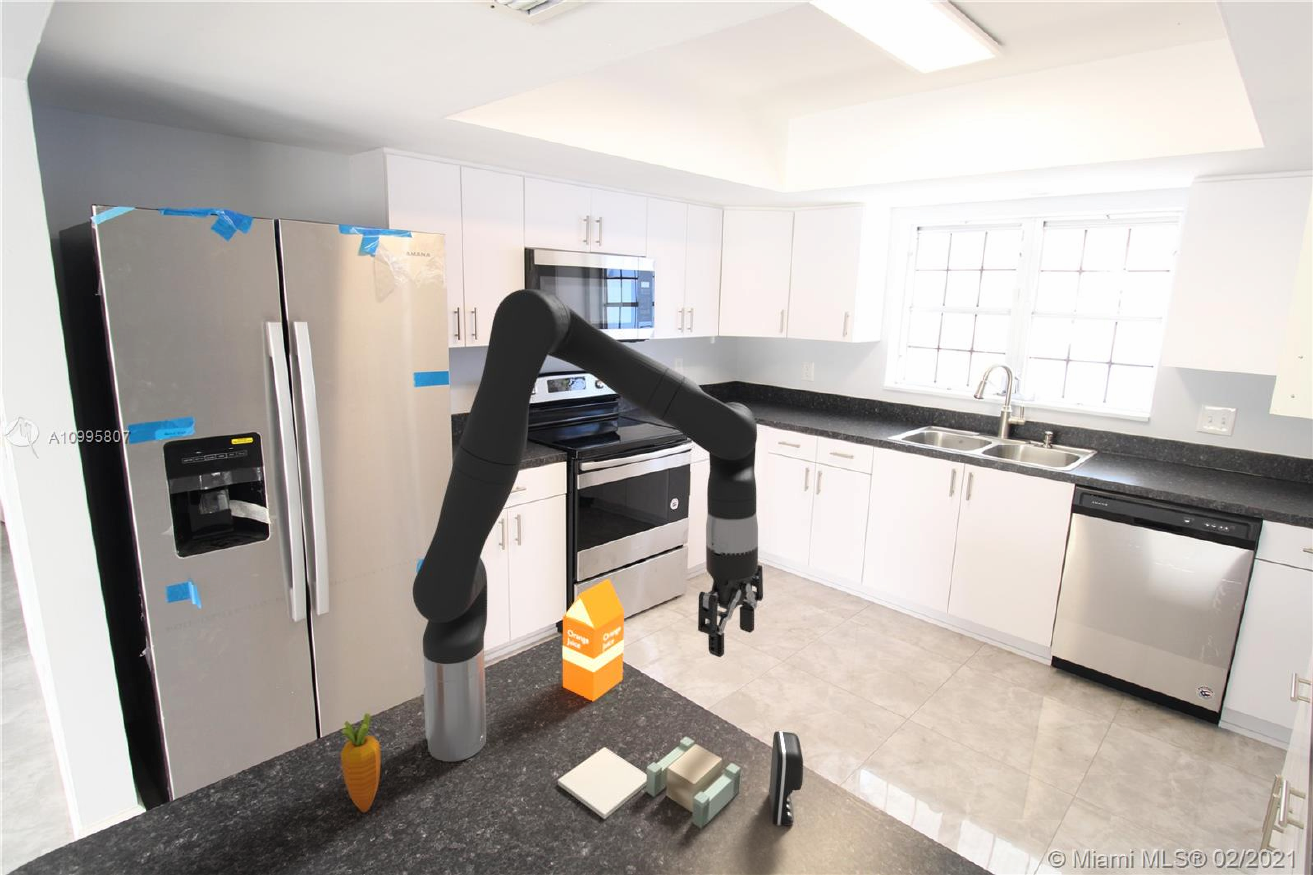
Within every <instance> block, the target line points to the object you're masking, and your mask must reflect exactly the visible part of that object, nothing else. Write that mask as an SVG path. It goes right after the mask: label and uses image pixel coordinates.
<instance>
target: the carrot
mask: <svg viewBox="0 0 1313 875" xmlns="http://www.w3.org/2000/svg"><path fill="white" fill-rule="evenodd" d="M370 721H371V714H370V713H364V717H363V720H362V724H361V726H360V727H359V728H358V727H356V728H355V729H354V728H353V726H352V725H351V723H350V722H349V721H345V722H344V726H345V727H346V728H343V729H341V734H342V735H344V736H345V737H346V738H347V739H348V741H347V742H346V743H345V744H344V746H343V747H342V750H341V754H340V759H341V767H342V768H341V769H342V774H343V781H344V783H345V787H346V790H347V792H348V794H349V798H350V799H351V800H352V802H353V803H354V805H355V806H356V807H357V808H358V809H359V810H360V811H361V813H366V812H368V811H369V810H370V808H371V806H372V804H373V802H374V799H375V797H376V795H377V791H378V788H379V781H380V775H381V745H380V742H379V740H377V739H376V738H375V737H374V736H373V735H369V734H368V730H369V728H370ZM367 734H368V735H367Z"/></svg>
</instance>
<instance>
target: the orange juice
mask: <svg viewBox="0 0 1313 875" xmlns="http://www.w3.org/2000/svg"><path fill="white" fill-rule="evenodd" d="M624 622H625V610H624V608H623V606H622V604H621V601H620V600H619V598H618V595H617V593H616V591H615V589H614V586H613V585H612V581H611V580H610V578H608V579H607V578H606V579H605V580H603V581H601V582H599V583H598V584H596V585H594V586H593V587H590V588H588V589H586V590H585V591H583V592H581V593H579V594H578V596H577V598H576V599H575V600H574V602H573V603H572V604H571V606H570V607H569V609H568V610H566V613H565V614H564V615H563V616H562V687H563V688H565V689H566V690H568V691H571V692H573V693H575V694H577V695H579V696H582V697H583V696H584V697H583V698H585V699H587V700H589V701H591V700H592V702H594V701H596V700H597V699H598V698H600V697H601V696H603V695H604V694H605V693H607V692H608V691H610V689H612V688H614V687H615V686H616V685H617V684H619V683H620V682H621V681H623V676H624V674H623V671H624V670H623V666H624V665H623V664H624V644H625V643H624V629H625V625H624V624H625V623H624Z"/></svg>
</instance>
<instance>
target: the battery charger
mask: <svg viewBox="0 0 1313 875" xmlns="http://www.w3.org/2000/svg"><path fill="white" fill-rule="evenodd" d="M772 738H773V740H772V748H771V750H772V751H771V760H770V761H771V762H770V776H769V785H768V786H769V788H768V790H769V791H768V793H769V794H768V795H769V804H770V813H771V822H772V823H773V824H774V825H776V826H788V825H791V824H793V823H794V820H795V814H794V809H793V802H792V795H791V794H792V793H793V791H800V790H801V789H802V786H803V779H804V759H803V758H804V757H803V753H802V746H801V743H800V739H799V736H798V735H797V734H796V733H794V732H787V731H782V730H778V731H774V733H773V737H772Z"/></svg>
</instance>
